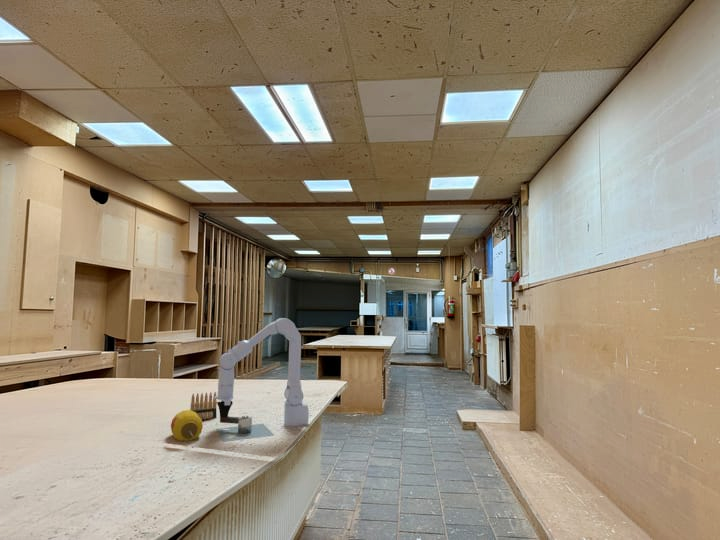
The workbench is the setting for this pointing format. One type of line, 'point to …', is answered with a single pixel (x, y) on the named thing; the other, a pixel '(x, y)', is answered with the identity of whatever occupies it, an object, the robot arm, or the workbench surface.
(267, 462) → the workbench surface
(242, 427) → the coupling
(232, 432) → the mounting plate
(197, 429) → the lantern
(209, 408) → the ammunition clip
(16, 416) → the workbench surface
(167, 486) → the workbench surface
